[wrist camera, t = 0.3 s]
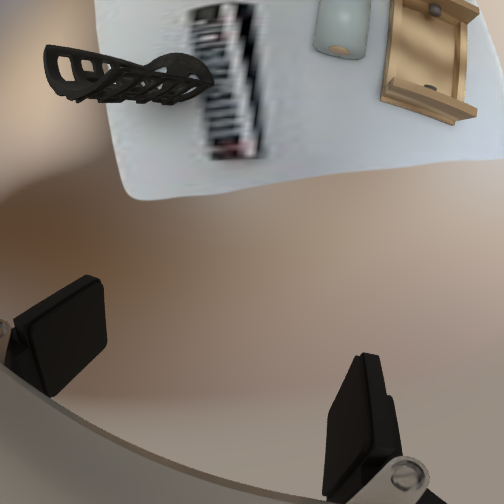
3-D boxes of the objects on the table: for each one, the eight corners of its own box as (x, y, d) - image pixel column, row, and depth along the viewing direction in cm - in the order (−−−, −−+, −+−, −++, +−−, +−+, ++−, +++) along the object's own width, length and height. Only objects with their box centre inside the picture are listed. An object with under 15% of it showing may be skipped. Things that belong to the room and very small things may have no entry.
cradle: (391, -2, 26) (401, -27, 20) (458, 23, 25) (478, 4, 18) (379, 101, 32) (392, 89, 25) (451, 125, 30) (475, 121, 24)
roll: (322, -5, 28) (323, -27, 23) (367, 5, 28) (375, -16, 22) (312, 53, 32) (313, 37, 26) (360, 64, 31) (369, 50, 25)
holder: (223, 57, 34) (131, 15, 16) (210, 111, 37) (110, 109, 19) (151, 52, 35) (43, 29, 17) (141, 101, 38) (29, 104, 21)
